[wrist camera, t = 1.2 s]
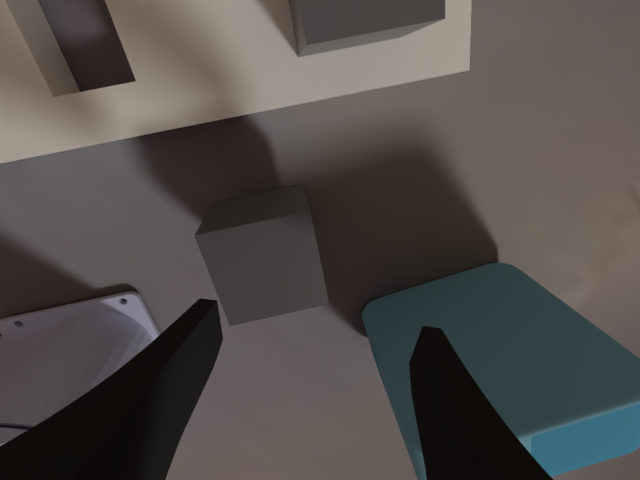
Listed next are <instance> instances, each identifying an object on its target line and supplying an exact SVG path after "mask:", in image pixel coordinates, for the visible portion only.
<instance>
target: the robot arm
mask: <svg viewBox="0 0 640 480" xmlns="http://www.w3.org/2000/svg"><path fill="white" fill-rule="evenodd" d="M122 298H124V299H126V300H127V301H123V300H122ZM21 322H22V323H21ZM0 333H1V334H2V336H1V337H0V480H165V479H166V476H167V473H168V470H169V468H170V465H171V462H172V459H173V457H174V454H175V451H176V449H177V446H178V443H179V441H180V439H181V436H182V434H183V432H184V429H185V427H186V425H187V423H188V421H189V419H190V417H191V414H192V412H193V410H194V408H195V406H196V404H197V402H198V399H199V397H200V395H201V393H202V391H203V389H204V387H205V385H206V382H207V380H208V378H209V376H210V374H211V372H212V369H213V367H214V364H215V361H216V359H217V356H218V353H219V350H220V346H221V343H222V340H223V336H222V330H221V323H220V317H219V310H218V304H217V301H216V300H208V299H199V300H198V301H197V302H195V303H194V304H193V305H192V306H191V307H190V308H189V309H188V310H187V311H186V312H185V313H184V314H182V315H181V316H180V317H179V318H178V319H177V320H176V321H175V322H174V323H173V324H172V325H170V326H169V327H168V328H167V329H166V330H165V331H164V332H163V333H162V334H160V333H159V331H158V329H157V327H156V325H155V323H154V321H153V320H152V318H151V316H150V314H149V312H148V310H147V308H146V306H145V304H144V302H143V301H142V299H141V297H140V295H139V294H138V293H137V292H134V291H128V292H123V293H118V294H114V295H109V296H104V297H100V298H95V299H90V300H86V301H81V302H76V303H72V304H67V305H63V306H58V307H53V308H49V309H44V310H39V311H35V312H30V313H25V314H21V315H16V316H11V317H7V318H3V319H0ZM409 369H410V383H411V394H412V400H413V405H414V411H415V416H416V422H417V427H418V432H419V437H420V443H421V448H422V453H423V459H424V464H425V471H426V477H427V480H553V479H552V478H551V477H550V476H549V474H548V473H547V472H546V471H545V470H544V469H543V468H542V467H541V465H540V464H539V463H538V462H537V461H536V460H535V459H534V457H533V456H532V455H531V454H530V453H529V452H528V450H527V449H526V448H525V447H524V446H523V444H522V443H521V442H520V441H519V440H518V438H517V437H516V436H515V435H514V433H513V432H512V431H511V430H510V428H509V427H508V426H507V424H506V423H505V422H504V421H503V419H502V418H501V417H500V415H499V414H498V413H497V411H496V410H495V409H494V407H493V406H492V405H491V403H490V402H489V400H488V399H487V398H486V396H485V395H484V394H483V392H482V391H481V389H480V388H479V386H478V385H477V383H476V382H475V380H474V379H473V378H472V376H471V375H470V373H469V372H468V370H467V369H466V367H465V366H464V364H463V362H462V361H461V359H460V358H459V356H458V355H457V353H456V351H455V350H454V348H453V347H452V345H451V343H450V342H449V340H448V339H447V337H446V335H445V334H444V332H443V331H442V329H441V328H436V327H428V326H422V329H421V331H420V334H419V337H418V340H417V342H416V345H415V348H414V351H413V354H412V356H411V359H410V362H409Z"/></svg>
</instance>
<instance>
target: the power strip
mask: <svg viewBox="0 0 640 480" xmlns="http://www.w3.org/2000/svg"><path fill="white" fill-rule="evenodd" d="M105 2H106V5H107V7H108V10H109V13H110V15H111V18H112V20H113V23H114V25H115V28H116V31H117V33H118V36H119V38H120V41H121V43H122V46H123V49H124V51H125V54H126V56H127V59H128V61H129V64H130V67H131V69H132V72H133V74H134V77H135V79H136V81H135V82H130V83H124V84H119V85H114V86H109V87H104V88H98V89H93V90H88V91H83V92H80V90H79V88H78V86H77V83H76V81H75V79H74V77H73V75H72V73H71V70H70V68H69V66H68V64H67V62H66V60H65V58H64V55H63V53H62V51H61V49H60V47H59V45H58V43H57V40H56V38H55V36H54V34H53V32H52V30H51V28H50V25H49V23H48V21H47V19H46V17H45V15H44V12H43V10H42V8H41V6H40V4H39V2H38V0H0V163H5V162H10V161H15V160H20V159H25V158H30V157H35V156H40V155H45V154H50V153H55V152H60V151H65V150H70V149H75V148H80V147H86V146H91V145H96V144H101V143H106V142H111V141H116V140H121V139H126V138H131V137H136V136H141V135H146V134H151V133H156V132H161V131H166V130H171V129H176V128H181V127H186V126H191V125H196V124H201V123H206V122H211V121H216V120H221V119H226V118H232V117H237V116H242V115H247V114H252V113H257V112H262V111H267V110H272V109H277V108H282V107H287V106H292V105H297V104H302V103H307V102H312V101H317V100H322V99H327V98H332V97H337V96H342V95H347V94H352V93H357V92H362V91H367V90H372V89H377V88H383V87H388V86H393V85H398V84H403V83H408V82H413V81H418V80H423V79H428V78H433V77H438V76H443V75H448V74H453V73H458V72H463V71H468V70H469V66H470V33H471V0H105Z"/></svg>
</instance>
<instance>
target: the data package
mask: <svg viewBox="0 0 640 480" xmlns="http://www.w3.org/2000/svg"><path fill="white" fill-rule="evenodd" d="M362 318H363V322H364V325H365V329H366V332H367V336H368V339H369V342H370V346H371V349H372V353H373V356H374V359H375V362H376V364H377V367H378V370H379V373H380V376H381V378H382V381H383V384H384V387H385V389H386V392H387V395H388V398H389V400H390V403H391V406H392V409H393V412H394V414H395V417H396V420H397V423H398V425H399V428H400V431H401V434H402V437H403V439H404V442H405V445H406V448H407V450H408V453H409V456H410V459H411V461H412V464H413V467H414V470H415V473H416V475H417V478H418V480H427V477H426V471H425V464H424V459H423V453H422V448H421V443H420V437H419V432H418V427H417V422H416V416H415V411H414V405H413V400H412V394H411V383H410V369H409V362H410V359H411V356H412V354H413V351H414V348H415V345H416V342H417V340H418V337H419V334H420V331H421V329H422V326H428V327H436V328H441V329H442V331H443V332H444V334H445V335H446V337H447V339H448V340H449V342H450V343H451V345H452V347H453V348H454V350H455V351H456V353H457V355H458V356H459V358H460V359H461V361H462V362H463V364H464V366H465V367H466V369H467V370H468V372H469V373H470V375H471V376H472V378H473V379H474V380H475V382H476V383H477V385H478V386H479V388H480V389H481V391H482V392H483V394H484V395H485V396H486V398H487V399H488V400H489V402H490V403H491V405H492V406H493V407H494V409H495V410H496V411H497V413H498V414H499V415H500V417H501V418H502V419H503V421H504V422H505V423H506V424H507V426H508V427H509V428H510V430H511V431H512V432H513V433H514V435H515V436H516V437H517V438H518V440H519V441H520V442H521V443H522V444H523V446H524V447H525V448H526V449H527V450H528V452H529V453H530V454H531V455H532V456H533V457H534V459H535V460H536V461H537V462H538V463H539V464H540V465H541V467H542V468H543V469H544V470H545V471H546V472H547V473H548V474H549V476H550V477H552V476H555V475H558V474H562V473H565V472H568V471H572V470H575V469H578V468H581V467H585V466H588V465H591V464H595V463H598V462H601V461H605V460H608V459H611V458H615V457H618V456H621V455H625V454H628V453H631V452H633V451H635V450H636V449H637V448H638V447H639V446H640V359H639V358H638V357H637V356H635V355H634V354H633V353H631V352H630V351H629V350H627V349H626V348H624V347H623V346H622V345H621V344H619V343H618V342H617V341H615V340H614V339H613V338H611V337H610V336H608V335H607V334H606V333H604V332H603V331H602V330H600V329H599V328H598V327H596V326H595V325H594V324H592V323H591V322H590V321H588V320H587V319H586V318H584V317H583V316H581V315H580V314H579V313H577V312H576V311H575V310H573V309H572V308H571V307H569V306H568V305H567V304H565V303H564V302H563V301H561V300H560V299H559V298H557V297H556V296H554V295H553V294H552V293H550V292H549V291H548V290H546V289H545V288H544V287H542V286H541V285H540V284H538V283H537V282H536V281H534V280H533V279H532V278H530V277H529V276H528V275H526V274H525V273H523V272H522V271H521V270H519V269H518V268H516V267H514V266H512V265H509V264H504V263H489V264H485V265H482V266H479V267H475V268H472V269H469V270H466V271H463V272H459V273H456V274H453V275H450V276H447V277H443V278H440V279H437V280H434V281H431V282H427V283H424V284H421V285H418V286H415V287H411V288H408V289H405V290H402V291H399V292H395V293H392V294H389V295H386V296H383V297H379V298H376V299H374V300H372V301H371V302H369V303H368V304H367V305H366V306H365V308H364V310H363V312H362Z"/></svg>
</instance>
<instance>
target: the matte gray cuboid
mask: <svg viewBox="0 0 640 480" xmlns="http://www.w3.org/2000/svg"><path fill="white" fill-rule="evenodd" d="M195 238H196V240H197V243H198V245H199V248H200V251H201V253H202V256H203V258H204V261H205V263H206V266H207V268H208V271H209V274H210V276H211V279H212V281H213V284H214V286H215V289H216V291H217V294H218V297H219V299H220V302H221V304H222V307H223V309H224V312H225V314H226V317H227V320H228V322H229V325H230V326H232V325H236V324H241V323H245V322H250V321H254V320H259V319H263V318H268V317H272V316H277V315H281V314H286V313H290V312H295V311H299V310H304V309H309V308H313V307H318V306H322V305H327V304H329V300H328V295H327V290H326V285H325V280H324V275H323V270H322V265H321V260H320V255H319V250H318V245H317V240H316V236H315V231H314V226H313V221H312V216H311V211H310V207H309V204H308V200H307V196H306V193H305V189H304V186H303V183H302V184H298V185H293V186H288V187H283V188H278V189H273V190H269V191H264V192H259V193H254V194H249V195H244V196H240V197H235V198H230V199H225V200H220V201H216V202H213V204H212V206H211V208H210V209H209V211H208V213H207V215H206V216H205V218H204V220H203V222H202V223H201V225H200V227H199V229H198V230H197V232H196V234H195Z"/></svg>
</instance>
